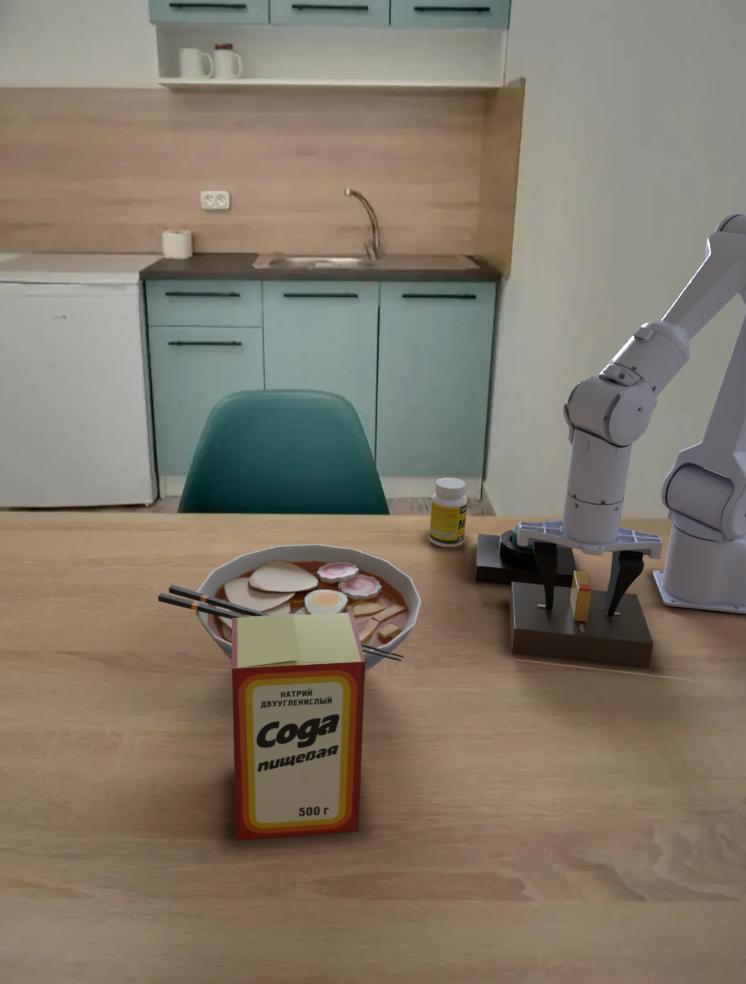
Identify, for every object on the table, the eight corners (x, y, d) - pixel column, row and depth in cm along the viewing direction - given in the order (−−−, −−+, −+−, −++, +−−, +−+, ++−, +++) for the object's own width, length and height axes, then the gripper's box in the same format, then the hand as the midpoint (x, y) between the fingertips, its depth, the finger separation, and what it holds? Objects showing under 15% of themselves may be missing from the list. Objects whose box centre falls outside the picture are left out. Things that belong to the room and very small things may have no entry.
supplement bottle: (462, 550, 109) (467, 491, 107) (427, 546, 110) (431, 488, 107) (465, 534, 114) (469, 477, 111) (430, 530, 115) (434, 474, 112)
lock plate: (633, 616, 95) (637, 592, 94) (649, 668, 86) (653, 642, 85) (509, 603, 97) (511, 580, 96) (511, 652, 88) (514, 627, 87)
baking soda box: (347, 771, 71) (353, 608, 65) (358, 830, 65) (365, 657, 59) (235, 778, 70) (231, 614, 64) (236, 840, 64) (231, 664, 58)
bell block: (568, 557, 108) (572, 529, 107) (575, 591, 100) (579, 562, 99) (476, 548, 110) (478, 520, 109) (475, 581, 102) (477, 552, 100)
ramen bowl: (456, 632, 91) (462, 566, 88) (376, 765, 72) (380, 686, 69) (259, 580, 101) (258, 519, 98) (141, 684, 81) (135, 612, 78)
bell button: (540, 538, 105) (541, 526, 105) (541, 551, 102) (543, 538, 101) (511, 535, 106) (512, 523, 105) (512, 548, 102) (513, 536, 102)
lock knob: (570, 598, 92) (574, 568, 91) (582, 600, 92) (587, 569, 91) (573, 620, 88) (578, 588, 87) (587, 622, 88) (591, 590, 87)
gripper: (524, 502, 83) (511, 620, 88) (676, 516, 81) (654, 636, 85) (522, 476, 89) (510, 586, 94) (662, 488, 87) (643, 600, 92)
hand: (578, 608), depth 90 cm, fingers open, 6 cm apart
